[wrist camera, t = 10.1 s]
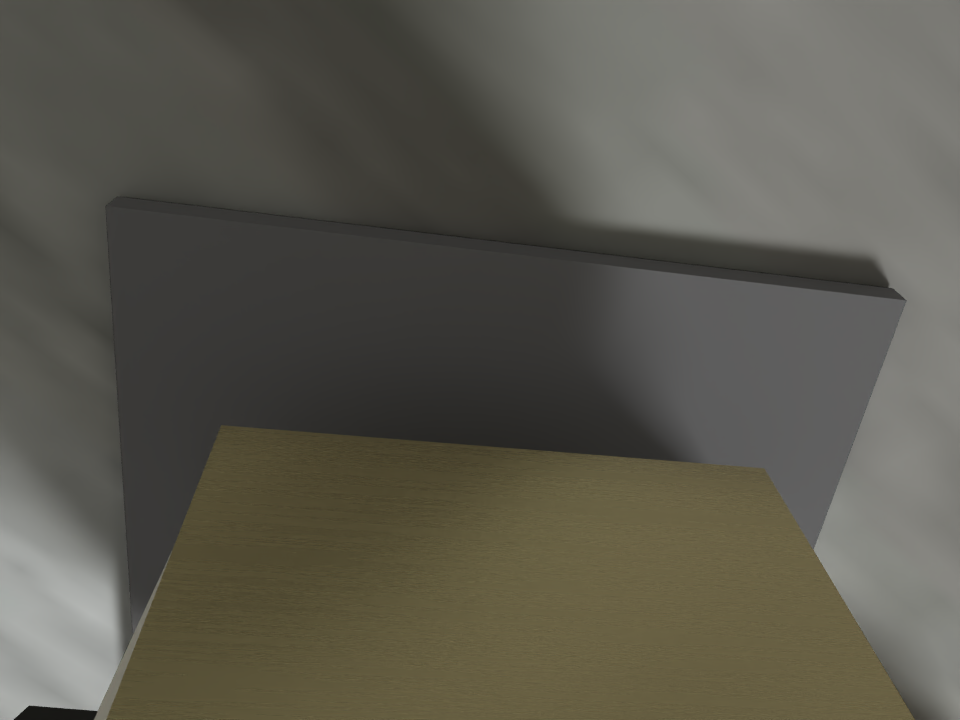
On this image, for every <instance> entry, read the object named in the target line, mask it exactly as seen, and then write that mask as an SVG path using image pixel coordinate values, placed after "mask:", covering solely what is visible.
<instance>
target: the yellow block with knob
mask: <svg viewBox="0 0 960 720" xmlns="http://www.w3.org/2000/svg"><path fill="white" fill-rule="evenodd" d="M106 720H915V719H914V718H913V716H912V714H911V713H910V711H909V709H908V708H907V706H906V704H905V703H904V701H903V699H902V697H901V696H900V694H899V692H898V691H897V689H896V687H895V686H894V684H893V682H892V681H891V679H890V677H889V676H888V674H887V672H886V671H885V669H884V667H883V666H882V664H881V662H880V661H879V659H878V657H877V656H876V654H875V652H874V651H873V649H872V647H871V646H870V644H869V642H868V641H867V639H866V637H865V636H864V634H863V632H862V631H861V629H860V627H859V626H858V624H857V622H856V621H855V619H854V617H853V616H852V614H851V612H850V611H849V609H848V607H847V606H846V604H845V602H844V601H843V599H842V597H841V596H840V594H839V592H838V591H837V589H836V587H835V586H834V584H833V582H832V581H831V579H830V577H829V576H828V574H827V572H826V571H825V569H824V567H823V566H822V564H821V562H820V561H819V559H818V557H817V556H816V554H815V552H814V550H813V549H812V547H811V545H810V544H809V542H808V540H807V539H806V537H805V535H804V534H803V532H802V530H801V529H800V527H799V525H798V524H797V522H796V520H795V519H794V517H793V515H792V514H791V512H790V510H789V509H788V507H787V505H786V504H785V502H784V500H783V499H782V497H781V495H780V494H779V492H778V490H777V489H776V487H775V485H774V484H773V482H772V480H771V479H770V477H769V475H768V474H767V472H766V470H765V469H764V468H754V467H741V466H729V465H716V464H703V463H691V462H678V461H666V460H653V459H640V458H628V457H615V456H602V455H590V454H577V453H565V452H552V451H539V450H527V449H514V448H501V447H489V446H476V445H464V444H451V443H438V442H426V441H413V440H400V439H388V438H375V437H363V436H350V435H337V434H325V433H312V432H299V431H287V430H274V429H262V428H249V427H236V426H224V425H221V427H220V430H219V432H218V435H217V437H216V440H215V443H214V445H213V448H212V450H211V453H210V455H209V458H208V460H207V463H206V466H205V468H204V471H203V473H202V476H201V478H200V481H199V483H198V486H197V489H196V491H195V494H194V496H193V499H192V501H191V504H190V506H189V509H188V512H187V514H186V517H185V519H184V522H183V524H182V527H181V529H180V532H179V535H178V537H177V540H176V542H175V545H174V547H173V550H172V553H171V555H170V558H169V560H168V563H167V565H166V568H165V570H164V573H163V576H162V578H161V581H160V583H159V586H158V588H157V591H156V593H155V596H154V599H153V601H152V604H151V606H150V609H149V611H148V614H147V616H146V619H145V622H144V624H143V627H142V629H141V632H140V634H139V637H138V639H137V642H136V645H135V647H134V650H133V652H132V655H131V657H130V660H129V663H128V665H127V668H126V670H125V673H124V675H123V678H122V680H121V683H120V686H119V688H118V691H117V693H116V696H115V698H114V701H113V703H112V706H111V709H110V711H109V714H108V716H107V719H106Z"/></svg>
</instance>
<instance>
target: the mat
mask: <svg viewBox="0 0 960 720" xmlns="http://www.w3.org/2000/svg"><path fill="white" fill-rule="evenodd" d="M106 220H107V236H108V252H109V268H110V284H111V299H112V315H113V331H114V347H115V363H116V379H117V395H118V410H119V426H120V442H121V458H122V474H123V490H124V506H125V522H126V537H127V553H128V569H129V585H130V601H131V617H132V633H133V634H134V632H135V630H136V628H137V625H138V623H139V621H140V619H141V617H142V615H143V612H144V610H145V608H146V606H147V604H148V602H149V599H150V597H151V595H152V593H153V591H154V589H155V586H156V584H157V582H158V580H159V578H160V576H161V574H162V571H163V569H164V567H165V565H166V563H167V561H168V558H169V556H170V554H171V552H172V550H173V547H174V545H175V542H176V540H177V537H178V535H179V532H180V529H181V527H182V524H183V522H184V519H185V517H186V514H187V512H188V509H189V506H190V504H191V501H192V499H193V496H194V494H195V491H196V489H197V486H198V483H199V481H200V478H201V476H202V473H203V471H204V468H205V466H206V463H207V460H208V458H209V455H210V453H211V450H212V448H213V445H214V443H215V440H216V437H217V435H218V432H219V430H220V427H221V425H224V426H236V427H249V428H262V429H274V430H287V431H299V432H312V433H325V434H337V435H350V436H363V437H375V438H388V439H400V440H413V441H426V442H438V443H451V444H464V445H476V446H489V447H501V448H514V449H527V450H539V451H552V452H565V453H577V454H590V455H602V456H615V457H628V458H640V459H653V460H666V461H678V462H691V463H703V464H716V465H729V466H741V467H754V468H764V469H765V470H766V472H767V474H768V475H769V477H770V479H771V480H772V482H773V484H774V485H775V487H776V489H777V490H778V492H779V494H780V495H781V497H782V499H783V500H784V502H785V504H786V505H787V507H788V509H789V510H790V512H791V514H792V515H793V517H794V519H795V520H796V522H797V524H798V525H799V527H800V529H801V530H802V532H803V534H804V535H805V537H806V539H807V540H808V542H809V544H810V545H811V547H812V549H814V547H815V544H816V541H817V539H818V536H819V533H820V531H821V528H822V525H823V523H824V520H825V517H826V515H827V512H828V509H829V507H830V504H831V501H832V499H833V496H834V493H835V490H836V488H837V485H838V482H839V480H840V477H841V474H842V472H843V469H844V466H845V464H846V461H847V458H848V456H849V453H850V450H851V448H852V445H853V442H854V440H855V437H856V434H857V432H858V429H859V426H860V424H861V421H862V418H863V416H864V413H865V410H866V408H867V405H868V402H869V399H870V397H871V394H872V391H873V389H874V386H875V383H876V381H877V378H878V375H879V373H880V370H881V367H882V365H883V362H884V359H885V357H886V354H887V351H888V349H889V346H890V343H891V341H892V338H893V335H894V333H895V330H896V327H897V325H898V322H899V319H900V316H901V314H902V311H903V308H904V306H905V303H906V300H905V299H904V298H903V297H902V296H901V295H900V294H899V293H897V292H896V291H895V290H894V289H892V288H884V287H876V286H867V285H859V284H850V283H842V282H833V281H825V280H817V279H808V278H800V277H791V276H783V275H774V274H766V273H758V272H749V271H741V270H732V269H724V268H715V267H707V266H699V265H690V264H682V263H673V262H665V261H656V260H648V259H640V258H631V257H623V256H614V255H606V254H597V253H589V252H581V251H572V250H564V249H555V248H547V247H538V246H530V245H522V244H513V243H505V242H496V241H488V240H479V239H471V238H463V237H454V236H446V235H437V234H429V233H420V232H412V231H404V230H395V229H387V228H378V227H370V226H361V225H353V224H344V223H336V222H328V221H319V220H311V219H302V218H294V217H285V216H277V215H269V214H260V213H252V212H243V211H235V210H226V209H218V208H210V207H201V206H193V205H184V204H176V203H167V202H159V201H151V200H142V199H134V198H125V197H116V198H115V199H114V200H113V201H111V202H110V203H109V204H108V205H106Z"/></svg>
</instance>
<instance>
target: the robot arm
mask: <svg viewBox="0 0 960 720" xmlns="http://www.w3.org/2000/svg"><path fill="white" fill-rule="evenodd" d="M171 553H172V552H171ZM170 555H171V554H170ZM169 558H170V556H169ZM169 558H168V560H169ZM167 563H168V561H167ZM167 563H166V565H167ZM166 565H165V567H164V569H163V571H162V574H161V576H160V578H159V580H158V582H157V584H156V586H155V589H154V591H153V593H152V595H151V597H150V599H149V602H148V604H147V606H146V608H145V610H144V612H143V615H142V617H141V619H140V621H139V623H138V625H137V628H136V630H135V632H134V634H133V636H132V638H131V641H130V643H129V645H128V647H127V649H126V651H125V654H124V656H123V658H122V660H121V662H120V664H119V666H118V669H117V671H116V673H115V675H114V677H113V679H112V682H111V684H110V686H109V688H108V690H107V692H106V695H105V697H104V699H103V701H102V703H101V705H100V708H99V710H98V711H89V710H76V709H64V708H51V707H39V706H28V707H27V708H26V709H25V710H24V711H23V712H22V713H21V714H19V715H18V716H17V717H16V718H15V719H14V720H106V719H107V716H108V714H109V711H110V709H111V706H112V703H113V701H114V698H115V696H116V693H117V691H118V688H119V686H120V683H121V680H122V678H123V675H124V673H125V670H126V668H127V665H128V663H129V660H130V657H131V655H132V652H133V650H134V647H135V645H136V642H137V639H138V637H139V634H140V632H141V629H142V627H143V624H144V622H145V619H146V616H147V614H148V611H149V609H150V606H151V604H152V601H153V599H154V596H155V593H156V591H157V588H158V586H159V583H160V581H161V578H162V576H163V573H164V570H165V568H166Z"/></svg>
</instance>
